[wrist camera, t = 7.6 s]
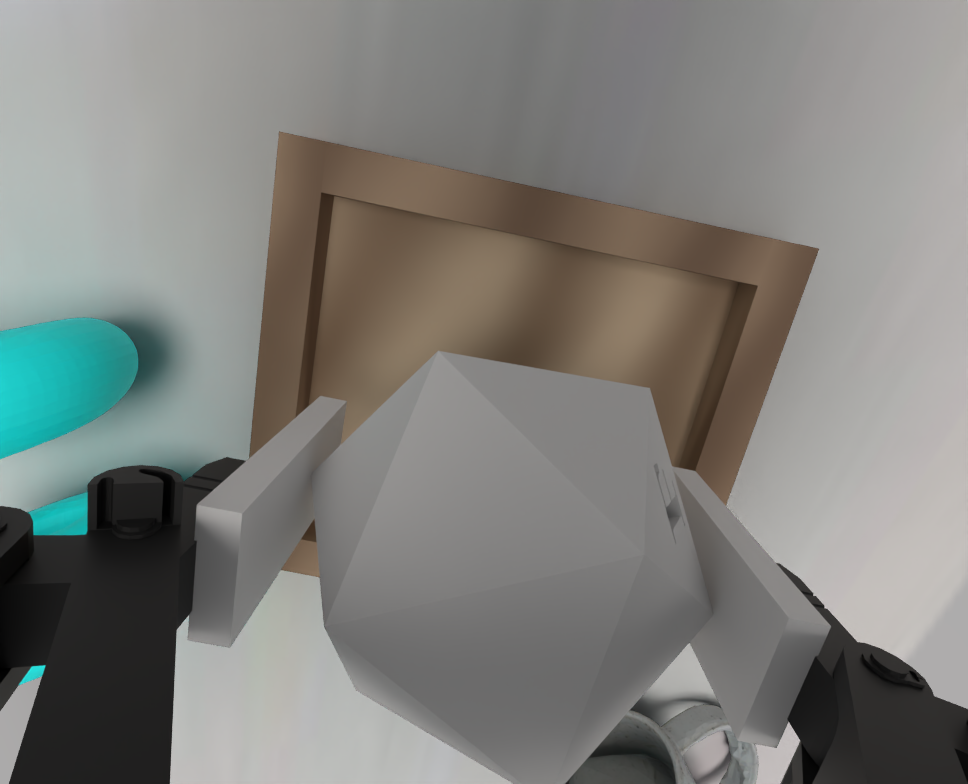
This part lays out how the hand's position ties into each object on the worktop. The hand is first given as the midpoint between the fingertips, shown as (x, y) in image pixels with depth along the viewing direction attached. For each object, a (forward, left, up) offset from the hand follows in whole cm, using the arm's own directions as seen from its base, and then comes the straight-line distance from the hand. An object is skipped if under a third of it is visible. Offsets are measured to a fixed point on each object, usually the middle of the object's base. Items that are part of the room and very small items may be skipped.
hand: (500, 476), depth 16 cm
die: (0, 0, -1) cm, 1 cm away
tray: (0, 0, -7) cm, 7 cm away
